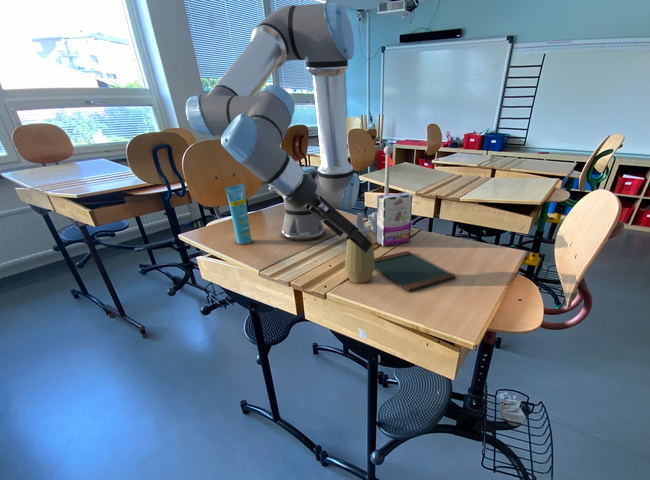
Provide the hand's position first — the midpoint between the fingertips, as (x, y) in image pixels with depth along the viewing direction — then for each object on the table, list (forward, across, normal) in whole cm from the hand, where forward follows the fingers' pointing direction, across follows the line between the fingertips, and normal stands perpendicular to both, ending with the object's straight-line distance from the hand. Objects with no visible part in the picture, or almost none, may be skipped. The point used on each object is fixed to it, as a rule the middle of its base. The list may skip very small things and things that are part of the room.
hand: (354, 239), depth 86 cm
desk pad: (+20, +2, +4) cm, 20 cm away
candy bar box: (+27, -20, +10) cm, 35 cm away
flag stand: (+31, -34, +15) cm, 49 cm away
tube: (-5, -46, -21) cm, 51 cm away
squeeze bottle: (+9, 0, -7) cm, 12 cm away
